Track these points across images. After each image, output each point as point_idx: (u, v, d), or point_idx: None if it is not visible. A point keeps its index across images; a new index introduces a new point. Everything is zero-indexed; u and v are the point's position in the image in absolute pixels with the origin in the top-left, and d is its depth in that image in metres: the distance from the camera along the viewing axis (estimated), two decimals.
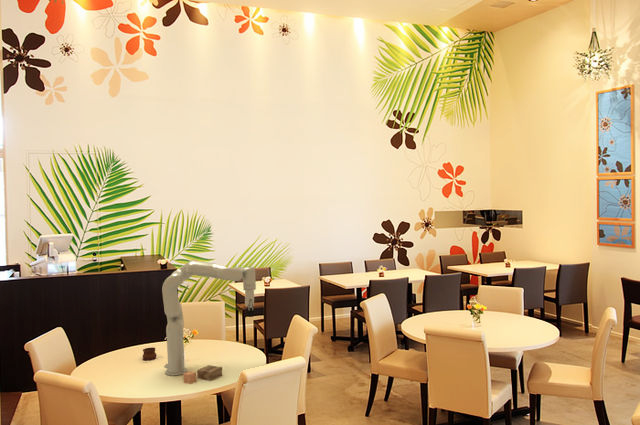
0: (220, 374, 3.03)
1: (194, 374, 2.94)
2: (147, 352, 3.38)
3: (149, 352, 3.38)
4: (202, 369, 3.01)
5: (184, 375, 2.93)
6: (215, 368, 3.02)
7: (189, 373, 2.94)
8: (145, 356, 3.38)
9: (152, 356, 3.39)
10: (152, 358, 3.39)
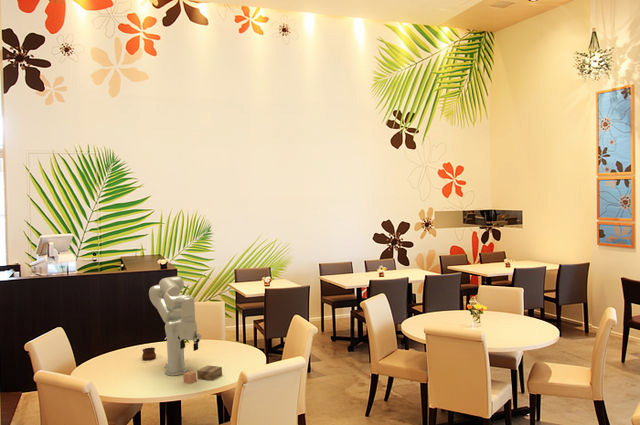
0: (220, 374, 3.03)
1: (194, 374, 2.94)
2: (146, 352, 3.38)
3: (148, 352, 3.38)
4: (202, 369, 3.01)
5: (184, 375, 2.93)
6: (215, 368, 3.02)
7: (189, 373, 2.94)
8: (144, 356, 3.38)
9: (151, 356, 3.39)
10: (151, 358, 3.39)
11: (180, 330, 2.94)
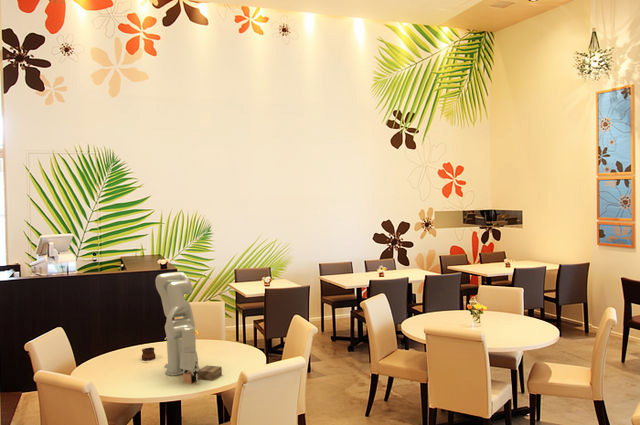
0: (220, 373, 3.04)
1: None
2: (146, 352, 3.38)
3: (148, 352, 3.38)
4: (202, 369, 3.00)
5: (184, 375, 2.93)
6: (215, 368, 3.02)
7: (189, 373, 2.94)
8: (144, 356, 3.38)
9: (151, 356, 3.39)
10: (151, 358, 3.39)
11: (181, 360, 2.94)
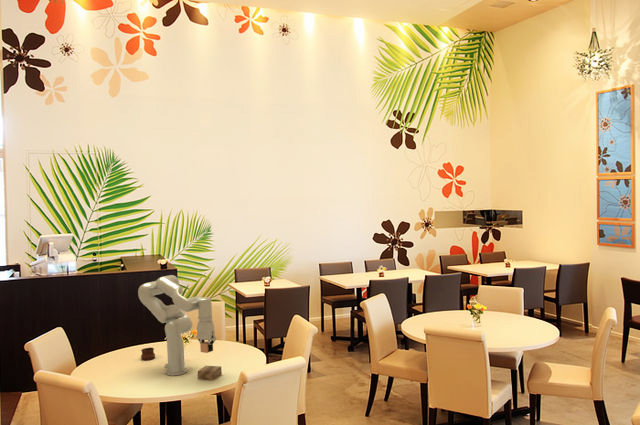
0: (220, 373, 3.04)
1: None
2: (145, 352, 3.38)
3: (147, 352, 3.38)
4: (202, 369, 3.00)
5: (201, 345, 2.99)
6: (215, 368, 3.02)
7: (206, 343, 3.00)
8: (143, 356, 3.38)
9: (150, 356, 3.38)
10: (150, 358, 3.39)
11: (198, 330, 3.00)
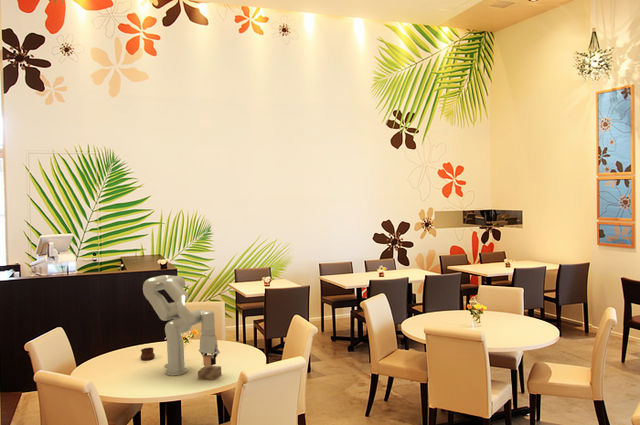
0: (220, 373, 3.04)
1: None
2: (145, 352, 3.38)
3: (147, 352, 3.38)
4: (202, 370, 3.00)
5: (204, 358, 3.00)
6: (215, 368, 3.02)
7: (209, 356, 3.01)
8: (143, 356, 3.38)
9: (150, 356, 3.38)
10: (150, 358, 3.39)
11: (201, 344, 3.01)
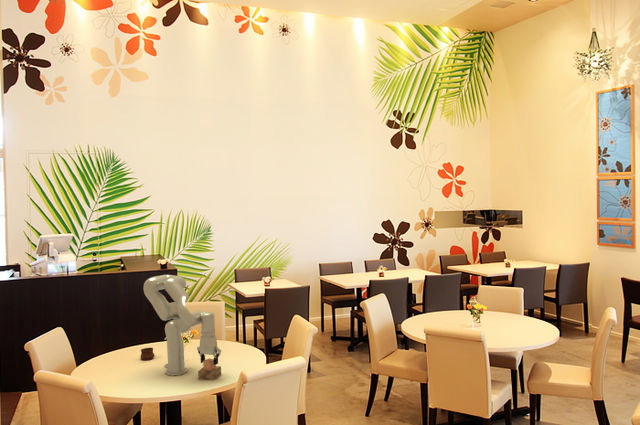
0: (220, 373, 3.04)
1: None
2: (144, 352, 3.38)
3: (146, 352, 3.38)
4: (202, 370, 3.00)
5: (204, 362, 3.01)
6: (215, 368, 3.03)
7: (209, 360, 3.01)
8: (142, 356, 3.38)
9: (149, 356, 3.38)
10: (149, 358, 3.38)
11: (200, 345, 3.01)
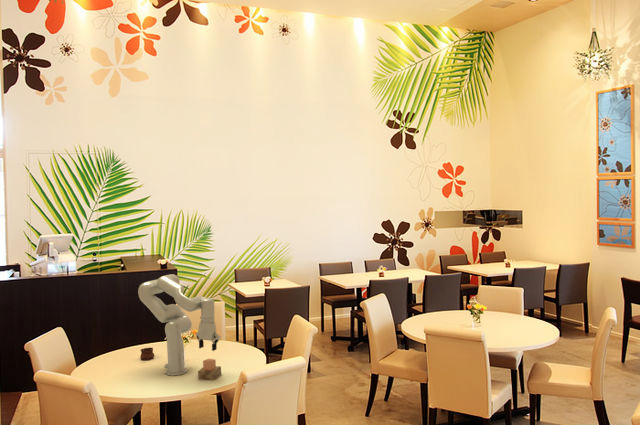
0: (220, 373, 3.04)
1: (213, 361, 3.01)
2: (144, 352, 3.38)
3: (146, 352, 3.38)
4: (202, 370, 3.00)
5: (204, 362, 3.00)
6: (215, 368, 3.03)
7: (209, 360, 3.01)
8: (142, 356, 3.38)
9: (149, 356, 3.38)
10: (149, 358, 3.38)
11: (199, 330, 3.01)
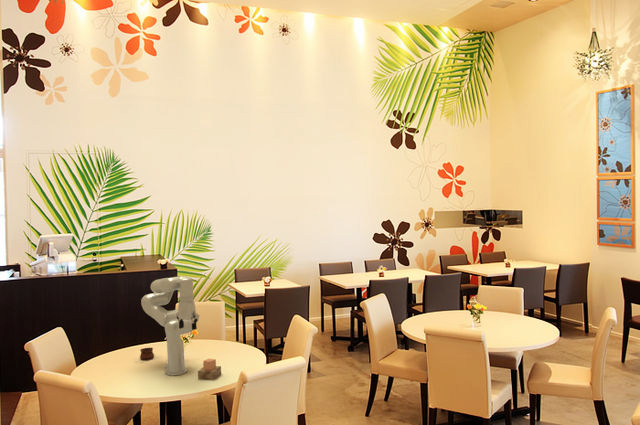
0: (220, 373, 3.05)
1: (214, 361, 3.01)
2: (143, 352, 3.38)
3: (144, 352, 3.38)
4: (202, 370, 3.00)
5: (204, 362, 3.01)
6: (215, 368, 3.03)
7: (209, 360, 3.01)
8: (141, 356, 3.39)
9: (147, 356, 3.38)
10: (147, 358, 3.38)
11: (179, 310, 3.00)
